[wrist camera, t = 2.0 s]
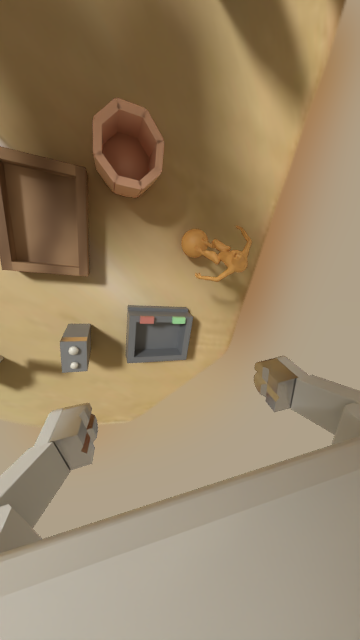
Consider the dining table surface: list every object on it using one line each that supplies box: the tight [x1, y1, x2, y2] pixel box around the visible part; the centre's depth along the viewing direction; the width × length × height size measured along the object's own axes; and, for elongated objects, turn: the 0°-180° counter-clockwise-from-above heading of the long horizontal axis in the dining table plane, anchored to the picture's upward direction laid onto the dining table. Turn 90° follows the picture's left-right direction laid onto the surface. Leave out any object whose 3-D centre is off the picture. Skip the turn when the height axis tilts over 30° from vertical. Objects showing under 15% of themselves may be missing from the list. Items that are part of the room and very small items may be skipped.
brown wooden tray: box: [0, 147, 89, 276], centre depth 24 cm, size 9×12×2 cm
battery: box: [60, 324, 91, 373], centre depth 28 cm, size 3×4×6 cm, turn 172°
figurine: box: [181, 226, 252, 282], centre depth 26 cm, size 8×6×12 cm
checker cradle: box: [126, 305, 193, 363], centre depth 33 cm, size 10×9×4 cm
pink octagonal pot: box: [93, 97, 164, 198], centre depth 23 cm, size 7×7×5 cm
